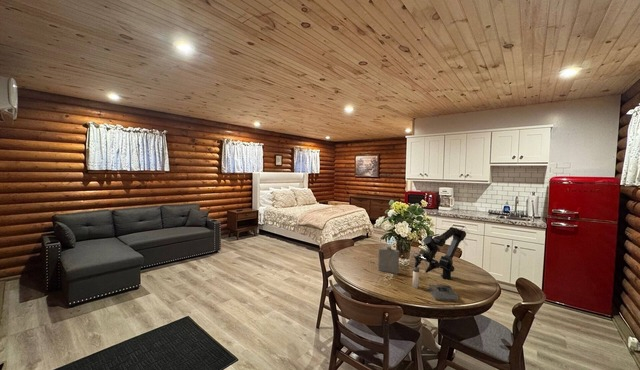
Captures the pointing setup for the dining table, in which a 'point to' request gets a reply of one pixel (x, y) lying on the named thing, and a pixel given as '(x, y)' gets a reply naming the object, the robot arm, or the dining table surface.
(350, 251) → the dining table surface
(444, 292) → the gray rectangular frame
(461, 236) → the robot arm
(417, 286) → the plug
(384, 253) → the hip flask
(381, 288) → the dining table surface
